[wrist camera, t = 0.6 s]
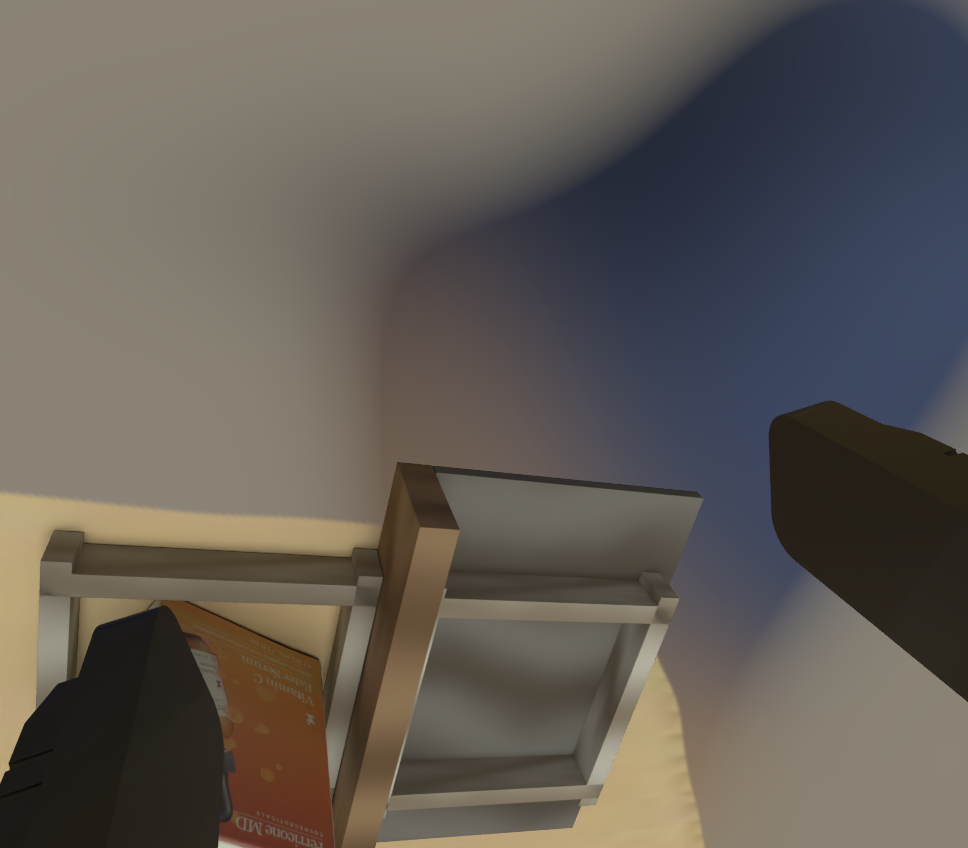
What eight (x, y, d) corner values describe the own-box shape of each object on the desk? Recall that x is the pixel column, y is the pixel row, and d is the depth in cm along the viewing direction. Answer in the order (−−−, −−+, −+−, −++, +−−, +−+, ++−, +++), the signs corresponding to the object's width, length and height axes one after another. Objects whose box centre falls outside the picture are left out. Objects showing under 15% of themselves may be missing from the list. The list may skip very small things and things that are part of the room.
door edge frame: (57, 428, 27) (18, 498, 22) (697, 492, 36) (757, 551, 31) (41, 855, 35) (10, 969, 30) (568, 818, 44) (602, 901, 39)
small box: (322, 658, 34) (346, 875, 25) (250, 741, 35) (247, 980, 26) (160, 585, 30) (119, 809, 21) (85, 680, 31) (13, 934, 22)
